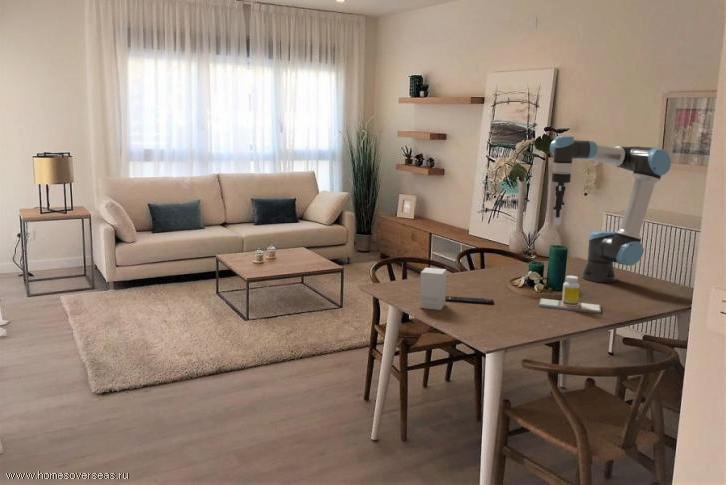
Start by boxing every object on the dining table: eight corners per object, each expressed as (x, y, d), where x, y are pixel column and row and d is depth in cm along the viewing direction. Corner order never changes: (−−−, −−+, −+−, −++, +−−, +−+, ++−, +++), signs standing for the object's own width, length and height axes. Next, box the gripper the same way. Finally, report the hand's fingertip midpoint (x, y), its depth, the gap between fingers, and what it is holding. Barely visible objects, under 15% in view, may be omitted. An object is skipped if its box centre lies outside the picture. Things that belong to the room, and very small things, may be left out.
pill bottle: (579, 307, 259) (581, 279, 256) (562, 306, 260) (564, 278, 258) (577, 302, 265) (579, 275, 263) (561, 301, 266) (563, 274, 264)
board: (540, 300, 271) (540, 297, 271) (600, 306, 263) (600, 304, 263) (538, 306, 262) (538, 304, 261) (600, 313, 254) (601, 311, 254)
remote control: (436, 298, 272) (436, 295, 272) (493, 302, 268) (493, 299, 268) (435, 302, 267) (435, 298, 267) (493, 306, 263) (493, 302, 263)
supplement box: (445, 304, 262) (447, 269, 259) (441, 310, 254) (442, 274, 251) (424, 301, 265) (425, 266, 262) (418, 307, 257) (420, 271, 254)
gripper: (553, 169, 283) (550, 217, 288) (550, 175, 260) (546, 226, 265) (571, 170, 281) (567, 218, 285) (570, 176, 258) (565, 227, 262)
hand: (557, 222), depth 275 cm, fingers open, 13 cm apart
